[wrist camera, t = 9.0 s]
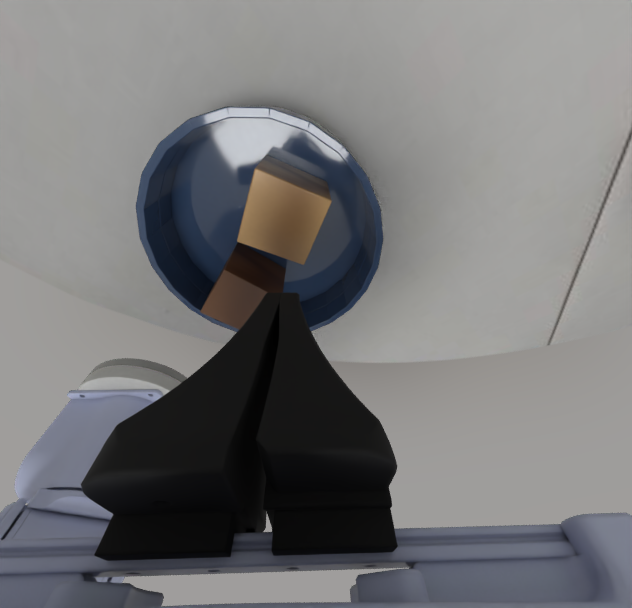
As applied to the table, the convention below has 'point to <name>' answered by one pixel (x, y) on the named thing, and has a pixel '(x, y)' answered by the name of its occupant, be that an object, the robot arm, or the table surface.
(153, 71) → the table surface
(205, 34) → the table surface
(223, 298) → the walnut block
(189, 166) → the bowl
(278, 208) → the beech block
